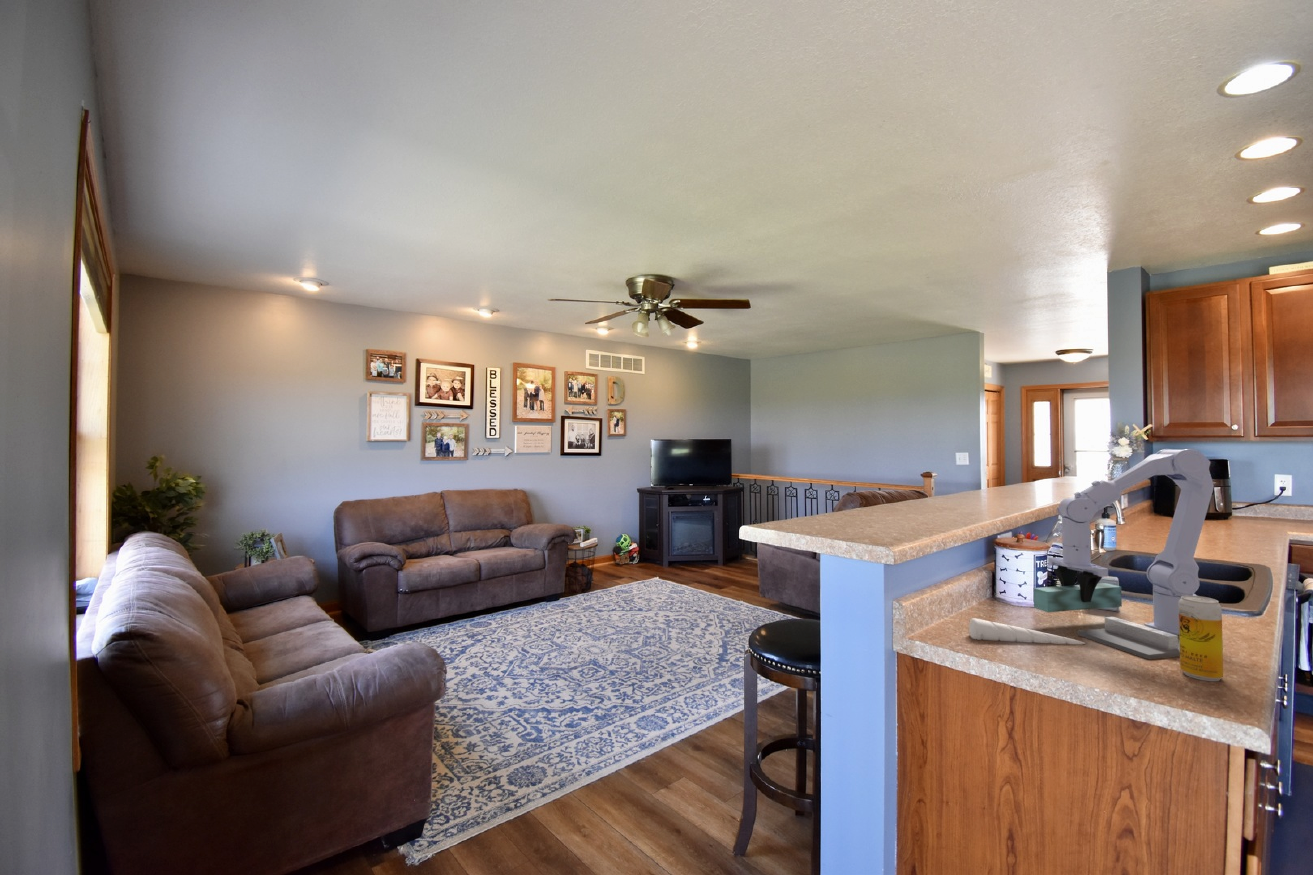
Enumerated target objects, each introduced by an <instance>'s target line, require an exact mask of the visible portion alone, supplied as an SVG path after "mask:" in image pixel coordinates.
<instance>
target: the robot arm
mask: <svg viewBox="0 0 1313 875" xmlns="http://www.w3.org/2000/svg"><path fill="white" fill-rule="evenodd" d="M1210 466H1211V461H1210V460H1209V459H1208V458H1207V456H1205V455H1204V454H1203V453H1202V452H1201V451H1199V450H1196V449H1194V448H1185V449H1173V448H1164V449H1161V450H1159V451H1156V453H1152V454H1149V455H1148V456H1147V457H1146V458H1144V459H1143V460H1141V461H1140V462H1138V463H1137V464H1135V465H1134V466H1132V467H1131V468H1129V469H1127V470H1126V471H1124V472H1122V473H1121V474H1119V475H1118V476H1117V477H1115V478H1113V479H1111V480H1106V479H1102V480H1100V481H1099V480H1095V481H1092V482H1091V485H1090V487H1087V488H1085V489H1084V490H1082V491H1080V492H1079V491H1077V492H1075V493H1073V495H1074V497H1066V498H1064V499H1062V500H1061V501H1060V503H1059V504H1058V507H1057V508H1056V511H1057V514H1058V515H1059V516H1060V518H1061V534H1062V535H1061V536H1062V537H1061V538H1062V540H1061V541H1062V542H1061V543H1062V558H1060V557H1055V556H1054V557H1048V566H1050V567H1051V566H1053V567H1054V566H1055V567H1056V568H1053V573H1054V574H1055V576H1056V577H1057V579H1058V581H1059V583H1060V586H1071V585H1076V578H1077V581H1078V585H1080V592H1081V600H1082V602H1091V599H1092V596H1093V592H1094V590H1095V588H1096V586H1097V584H1098V582H1099V581H1100V580H1101V578H1102V577H1107V576H1109V567H1108V568H1106V567H1104V566H1100V565H1097V564H1094V563H1092V558H1091V556H1092V554H1091V553H1092V552H1091V551H1092V550H1091V525H1090V524H1091V522H1090V521H1091V520H1092V519H1093V518H1094V517H1095V514H1096V513H1097V512H1099V511H1101V510H1103V509H1104V508H1106V507H1108V506H1110V505H1112V504H1113V503H1115V502H1117V501H1119V500H1120V499H1121V496H1122V492H1123V491H1126V490H1128V489H1130V488H1131V487H1133V486H1136V485H1138V484H1139V483H1142V482H1144V481H1145V480H1148V479H1150V478H1152V477H1154V476H1166V477H1168V478H1169V479H1171V480H1172V481H1173V483H1175V484H1176V485H1177V486H1178V488H1179V489H1180V493H1179V498H1178V501H1177V504H1176V507H1175V510H1174V514H1173V518H1172V521H1171V524H1170V528H1169V531H1168V534H1167V539H1166V542H1165V546H1164V548H1163V550H1162V551H1161V552H1159V553H1158V554H1157V555H1156V556H1155V557H1154V560H1153V561H1152V563H1151V564H1150V565H1149V566H1148V568H1147V569H1146V577H1147V579H1148V581H1149V582H1150V583H1151V584H1152V596H1153V597H1152V603H1153V604H1152V607H1153V610H1152V611H1153V622H1145V623H1144V624H1143V626H1147V627H1150V628H1154V629H1157V630H1160V631H1164V632H1167V633H1171V634H1174V635H1177V636H1179V600H1180V599H1181V596H1185V595H1190V596H1198V595H1197V594H1196V592H1197V591H1198V590H1199V587H1200V578H1199V570H1200V567H1199V565H1198V563H1197V562H1196V560H1195V558H1194V557H1195V553H1196V550H1197V546H1198V543H1199V540H1200V537H1201V533H1202V530H1203V527H1204V523H1205V519H1206V516H1207V513H1208V510H1209V507H1210V506H1209V505H1210V503H1211V498H1212V495H1213V491H1214V487H1215V485H1214V482H1213V478H1212V476H1211V472H1210ZM1079 572H1080V573H1079ZM1081 572H1082V573H1081Z"/></svg>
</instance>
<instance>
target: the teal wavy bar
mask: <svg viewBox="0 0 1313 875" xmlns="http://www.w3.org/2000/svg"><path fill="white" fill-rule="evenodd" d="M1122 603H1123V602H1122V586H1120V585H1119V586H1116V585H1112V584H1107V583H1101V584H1097V586H1096V588H1095V590H1094V592H1093V596H1092V599H1091V602H1082V600H1081V592H1080V585H1079V584H1075V585H1071V586H1061V585H1059V586H1044V587H1033V609H1036V610H1040V611H1042V612H1046V613H1054V612H1055V613H1057V612H1069V611H1070V612H1071V611H1082V610H1083V611H1084V610H1093V609H1094V610H1099V609H1098V608H1111V607H1119V608H1122Z"/></svg>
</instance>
